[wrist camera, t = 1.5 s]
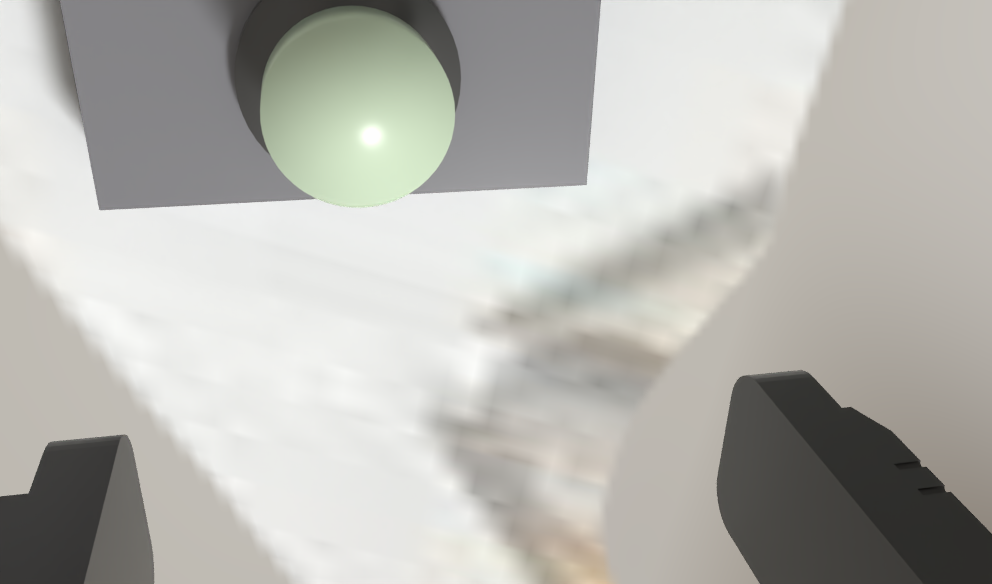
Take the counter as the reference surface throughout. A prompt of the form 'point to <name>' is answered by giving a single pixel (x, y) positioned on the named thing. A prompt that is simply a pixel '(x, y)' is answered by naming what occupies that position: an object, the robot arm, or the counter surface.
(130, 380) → the counter surface
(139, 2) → the button panel
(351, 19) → the sage button
